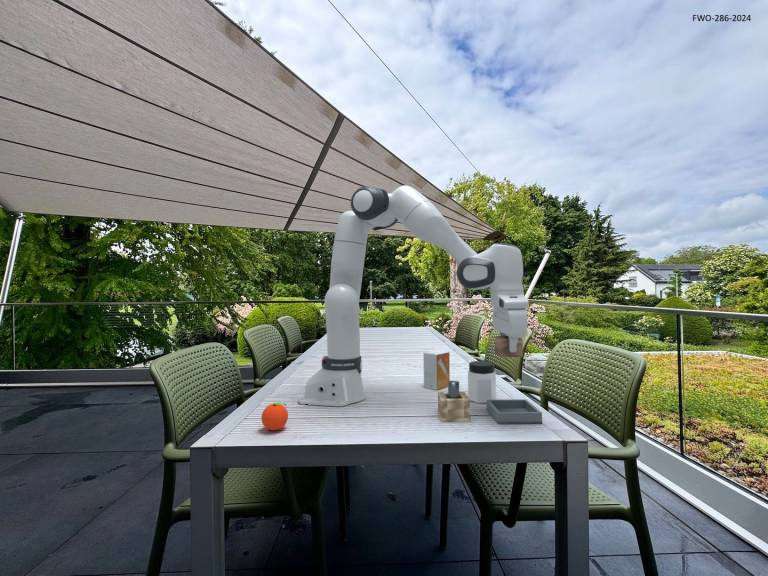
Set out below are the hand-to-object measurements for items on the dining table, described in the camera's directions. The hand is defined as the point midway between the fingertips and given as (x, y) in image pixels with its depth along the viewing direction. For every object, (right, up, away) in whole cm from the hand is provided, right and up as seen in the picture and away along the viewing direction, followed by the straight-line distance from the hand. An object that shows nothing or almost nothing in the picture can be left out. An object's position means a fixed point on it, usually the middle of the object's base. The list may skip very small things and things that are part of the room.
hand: (508, 349), depth 106 cm
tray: (+2, -20, +2) cm, 20 cm away
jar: (-3, -20, +18) cm, 27 cm away
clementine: (-64, -21, -5) cm, 68 cm away
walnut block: (0, -2, 0) cm, 2 cm away
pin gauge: (-15, -19, +2) cm, 24 cm away
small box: (-15, -20, +34) cm, 42 cm away
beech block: (-15, -20, +2) cm, 25 cm away
